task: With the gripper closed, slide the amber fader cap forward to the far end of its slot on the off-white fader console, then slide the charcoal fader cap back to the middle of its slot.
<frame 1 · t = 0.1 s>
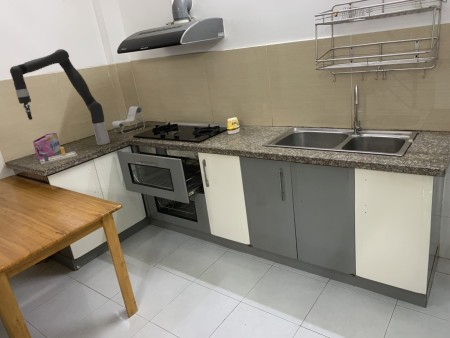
hand: (30, 118, 249), 29 cm above the worktop, fingers open, 8 cm apart
console: (58, 158, 252), on the worktop
chair: (130, 130, 317), on the worktop
fader charcoal: (45, 156, 244), point 4 cm above the worktop, slide at 0.0 cm
gum box: (50, 154, 267), on the worktop
fader amber: (62, 150, 255), point 4 cm above the worktop, slide at 0.0 cm
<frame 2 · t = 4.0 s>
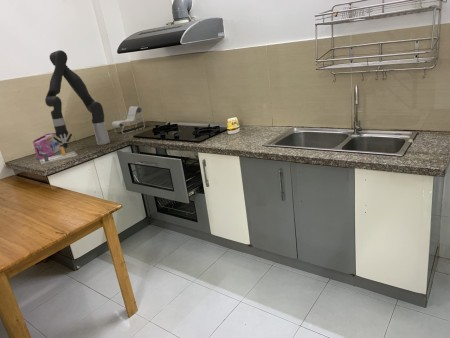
hand: (65, 147, 256), 6 cm above the worktop, fingers closed
fader amber: (62, 150, 255), point 4 cm above the worktop, slide at 0.0 cm, touching gripper
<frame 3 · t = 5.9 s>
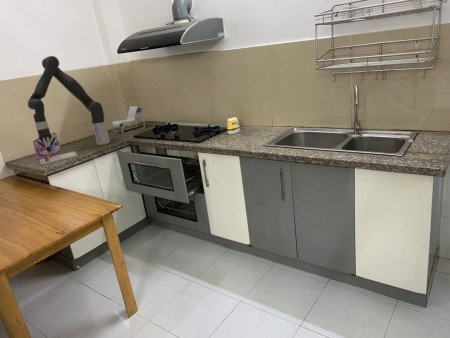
hand: (49, 151, 251), 6 cm above the worktop, fingers closed
fader amber: (46, 154, 250), point 4 cm above the worktop, slide at 11.0 cm, touching gripper
everything else where it was.
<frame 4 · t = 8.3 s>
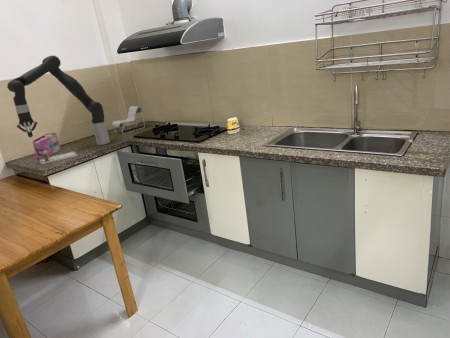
hand: (30, 137, 237), 19 cm above the worktop, fingers closed
fader amber: (46, 154, 250), point 4 cm above the worktop, slide at 11.0 cm
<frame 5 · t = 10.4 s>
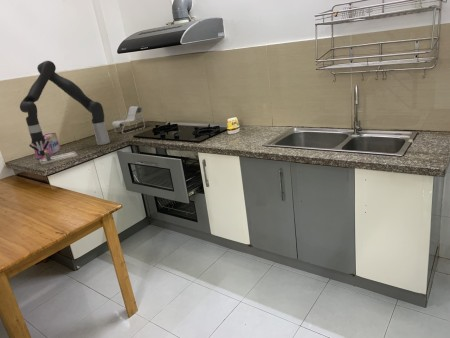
hand: (42, 155, 243), 5 cm above the worktop, fingers closed
fader charcoal: (47, 156, 245), point 4 cm above the worktop, slide at -1.5 cm, touching gripper
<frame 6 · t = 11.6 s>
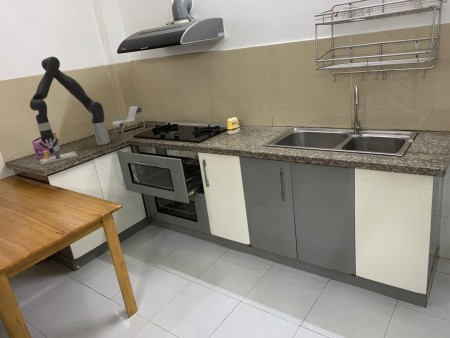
hand: (52, 153, 246), 5 cm above the worktop, fingers closed
fader charcoal: (56, 154, 248), point 4 cm above the worktop, slide at -7.4 cm, touching gripper
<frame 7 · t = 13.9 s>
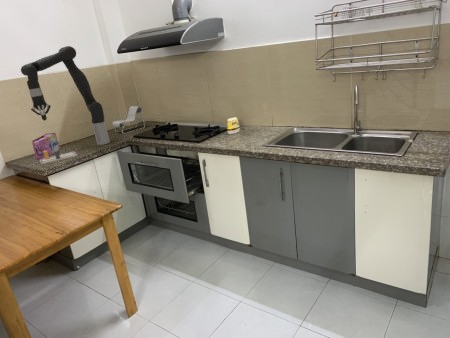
hand: (44, 120, 243), 28 cm above the worktop, fingers closed
fader charcoal: (56, 154, 248), point 4 cm above the worktop, slide at -7.4 cm
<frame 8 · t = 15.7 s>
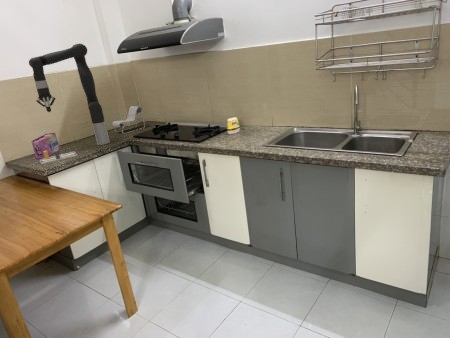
hand: (49, 111, 251), 32 cm above the worktop, fingers closed
at the end: fader amber slide at 11.0 cm; fader charcoal slide at -7.4 cm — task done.
